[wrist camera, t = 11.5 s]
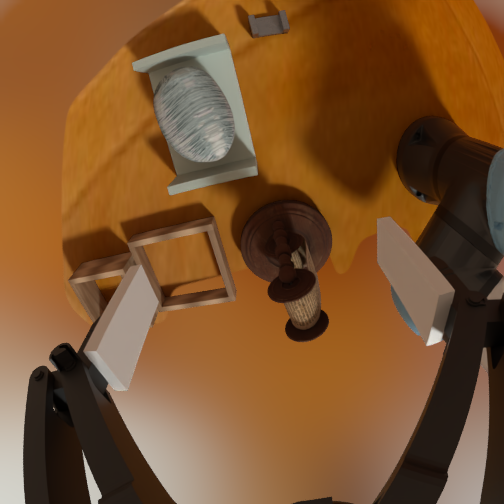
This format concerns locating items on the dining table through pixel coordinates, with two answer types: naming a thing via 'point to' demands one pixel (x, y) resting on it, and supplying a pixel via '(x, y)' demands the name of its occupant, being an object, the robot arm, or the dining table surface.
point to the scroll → (290, 261)
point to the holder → (223, 72)
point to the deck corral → (175, 232)
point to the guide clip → (268, 25)
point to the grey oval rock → (194, 114)
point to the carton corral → (95, 270)
